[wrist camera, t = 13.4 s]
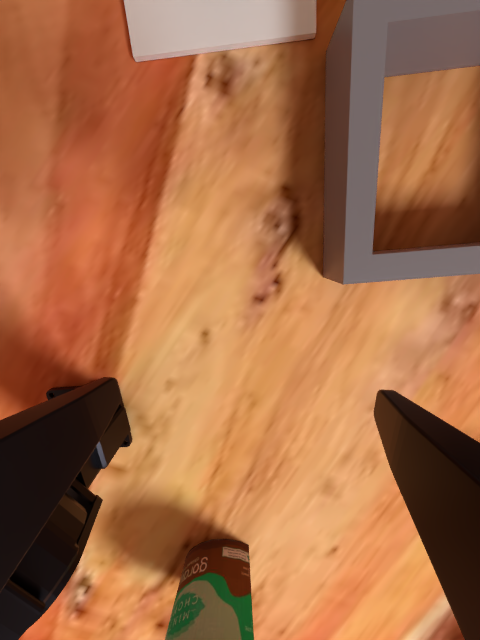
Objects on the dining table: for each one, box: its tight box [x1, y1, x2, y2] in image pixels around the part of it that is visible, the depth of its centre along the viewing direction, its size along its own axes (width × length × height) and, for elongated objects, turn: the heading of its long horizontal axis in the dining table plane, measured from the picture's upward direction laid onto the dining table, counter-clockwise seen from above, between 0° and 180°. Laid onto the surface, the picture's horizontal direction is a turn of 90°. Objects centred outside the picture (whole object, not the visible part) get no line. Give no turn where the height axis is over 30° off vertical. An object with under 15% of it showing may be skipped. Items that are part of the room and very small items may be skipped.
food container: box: [165, 539, 254, 640], centre depth 23 cm, size 12×6×10 cm, turn 147°
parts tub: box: [323, 0, 480, 284], centre depth 14 cm, size 14×14×4 cm
